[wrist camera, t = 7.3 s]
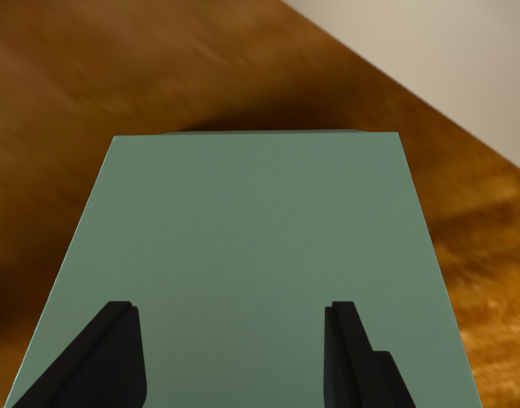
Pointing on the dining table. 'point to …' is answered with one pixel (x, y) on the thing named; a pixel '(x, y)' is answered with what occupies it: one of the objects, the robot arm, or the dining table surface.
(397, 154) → the box lid
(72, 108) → the dining table surface
